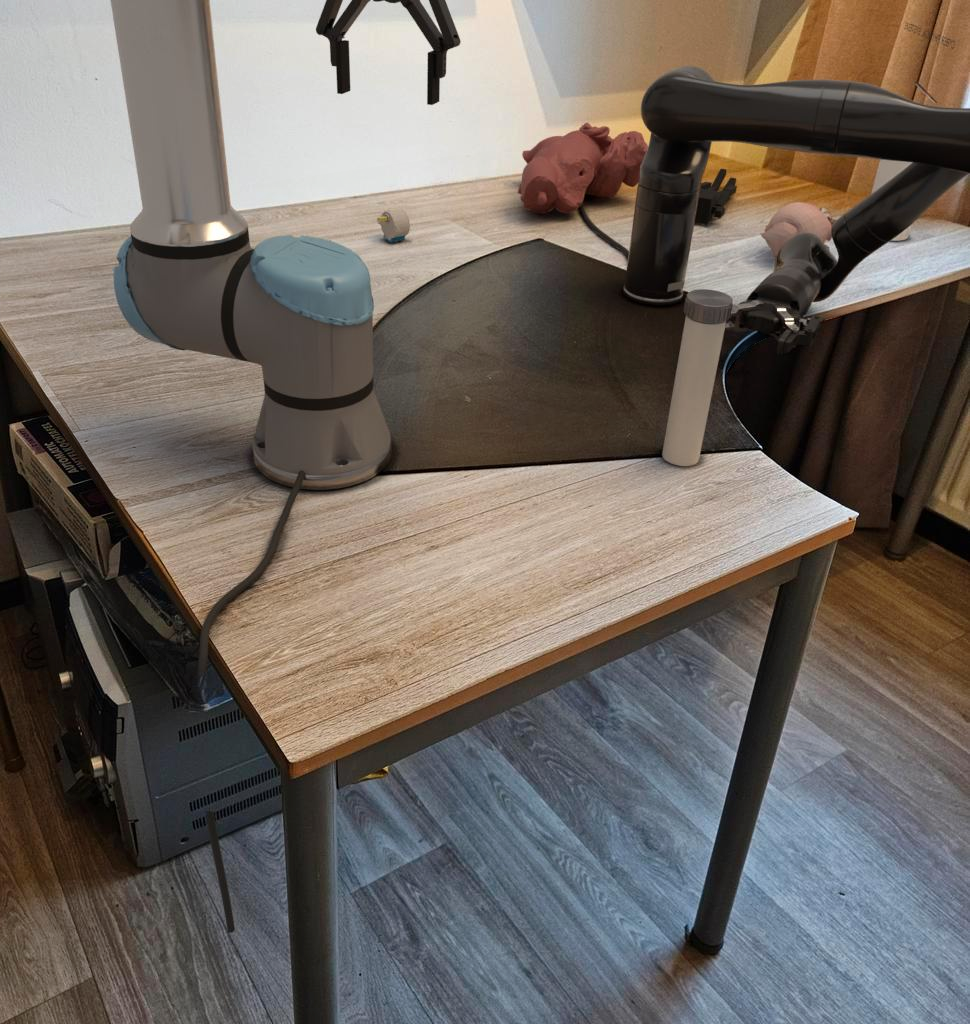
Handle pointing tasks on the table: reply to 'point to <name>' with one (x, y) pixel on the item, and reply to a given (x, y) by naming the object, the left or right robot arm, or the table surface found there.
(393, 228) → the electric motor
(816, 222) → the toy
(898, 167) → the tall white tube
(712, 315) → the lid
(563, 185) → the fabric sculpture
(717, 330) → the beige cylindrical rod
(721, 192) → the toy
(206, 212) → the left robot arm
